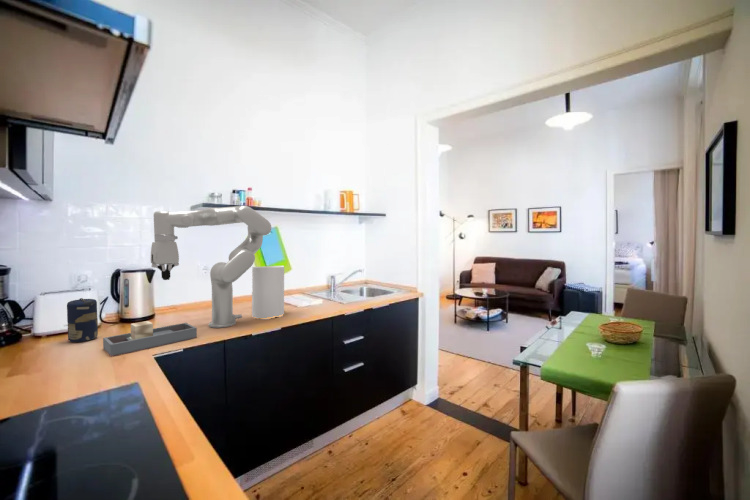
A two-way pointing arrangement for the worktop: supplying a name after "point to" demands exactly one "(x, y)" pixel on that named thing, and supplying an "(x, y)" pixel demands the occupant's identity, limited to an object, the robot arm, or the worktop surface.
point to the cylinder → (267, 291)
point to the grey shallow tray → (149, 339)
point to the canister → (82, 320)
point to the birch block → (141, 330)
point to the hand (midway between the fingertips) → (166, 279)
